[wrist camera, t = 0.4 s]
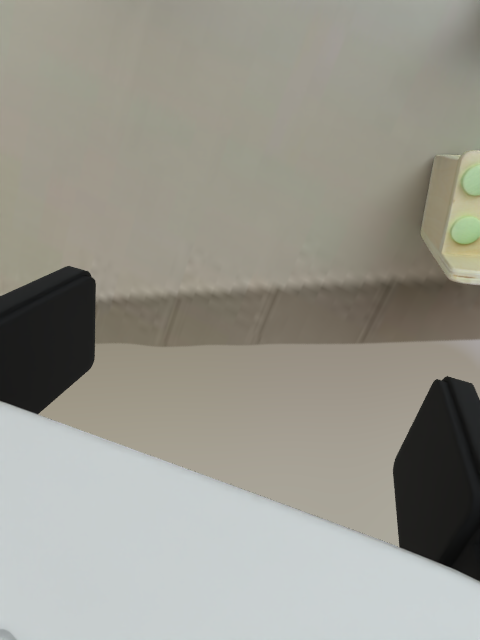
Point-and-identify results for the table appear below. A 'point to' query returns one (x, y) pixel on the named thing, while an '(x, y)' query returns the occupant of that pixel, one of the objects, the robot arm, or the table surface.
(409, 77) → the table surface
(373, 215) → the table surface
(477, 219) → the toy sink
